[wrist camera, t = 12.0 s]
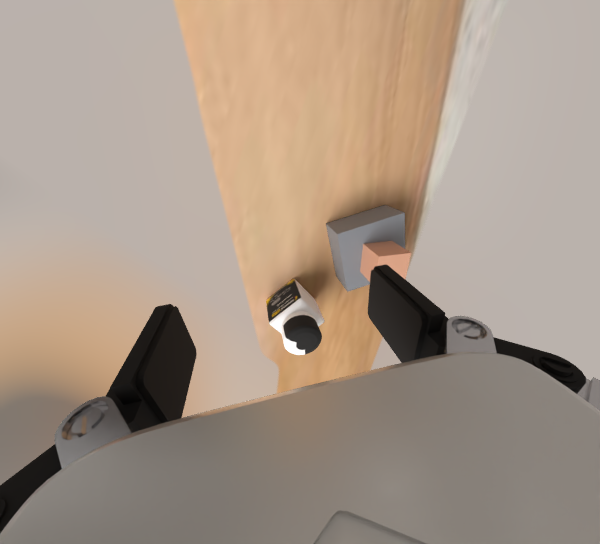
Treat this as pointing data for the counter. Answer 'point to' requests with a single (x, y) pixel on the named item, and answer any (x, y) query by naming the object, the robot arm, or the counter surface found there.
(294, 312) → the medicine bottle
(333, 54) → the counter surface
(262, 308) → the counter surface
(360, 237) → the grey block
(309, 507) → the robot arm
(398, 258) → the terracotta cube
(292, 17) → the counter surface
